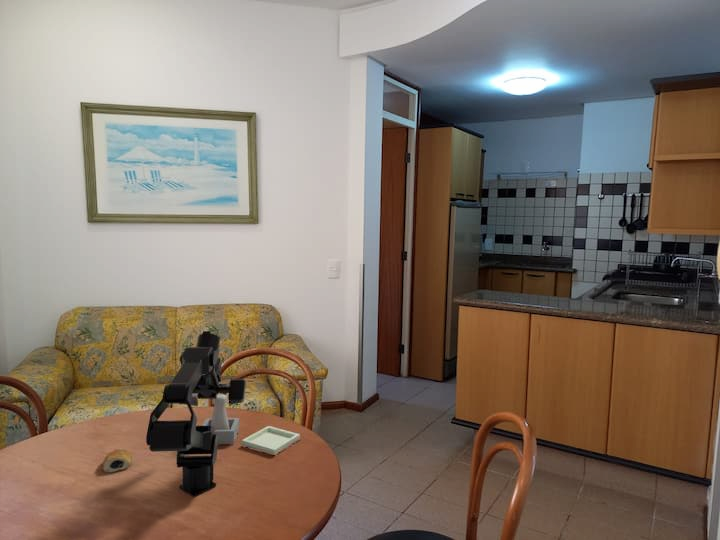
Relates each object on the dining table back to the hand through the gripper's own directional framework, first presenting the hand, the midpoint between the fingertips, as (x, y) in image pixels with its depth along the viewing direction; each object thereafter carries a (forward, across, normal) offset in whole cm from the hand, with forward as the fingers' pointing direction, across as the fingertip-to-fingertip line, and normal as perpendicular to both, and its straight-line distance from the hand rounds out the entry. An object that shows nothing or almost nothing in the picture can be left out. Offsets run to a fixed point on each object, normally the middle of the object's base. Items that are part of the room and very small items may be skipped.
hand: (214, 404), depth 137 cm
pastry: (+5, +24, +15) cm, 28 cm away
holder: (+16, 0, +4) cm, 16 cm away
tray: (+12, -16, +7) cm, 21 cm away
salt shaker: (+16, 0, +4) cm, 16 cm away
